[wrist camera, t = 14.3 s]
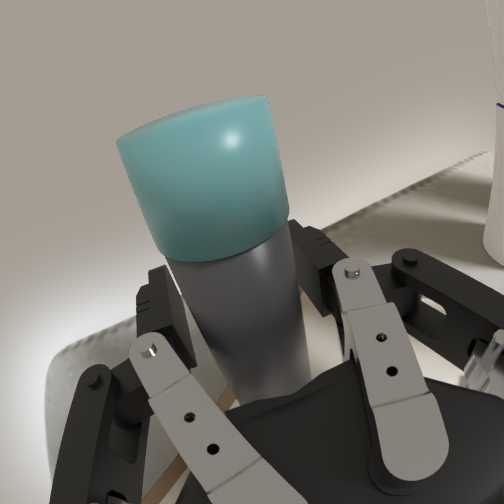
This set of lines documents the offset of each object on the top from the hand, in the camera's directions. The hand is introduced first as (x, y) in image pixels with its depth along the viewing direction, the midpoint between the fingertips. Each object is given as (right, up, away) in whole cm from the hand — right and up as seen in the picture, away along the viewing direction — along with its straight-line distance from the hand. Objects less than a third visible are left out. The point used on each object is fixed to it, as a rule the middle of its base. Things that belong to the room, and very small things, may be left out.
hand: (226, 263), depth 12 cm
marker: (+2, -7, +2) cm, 8 cm away
